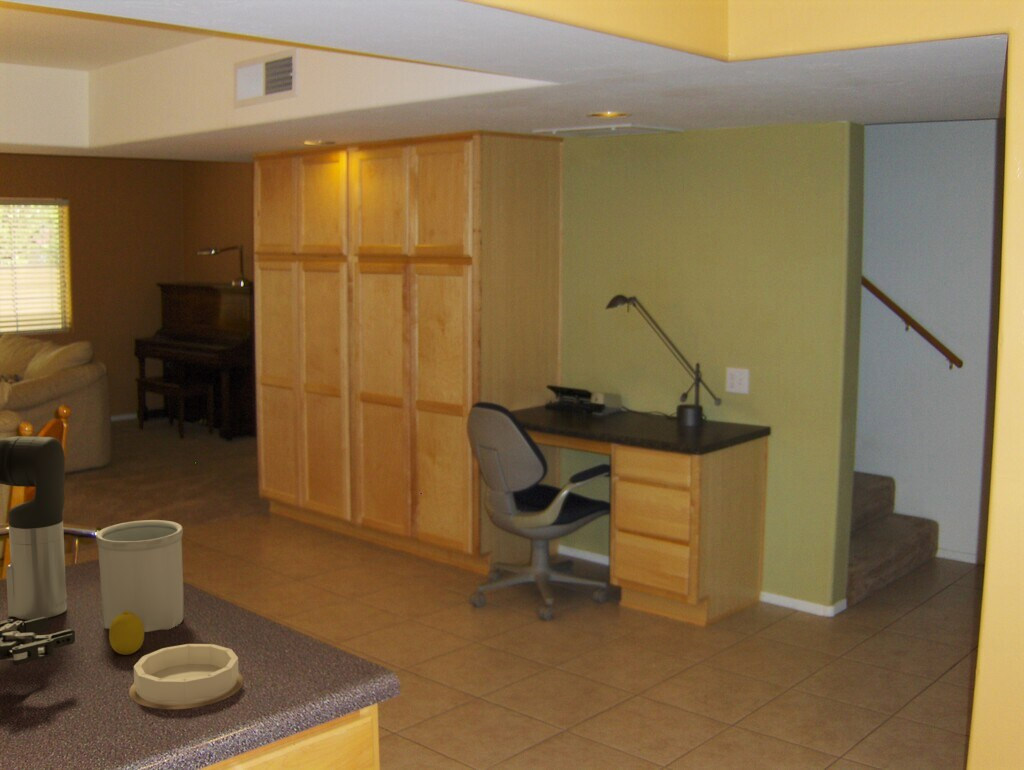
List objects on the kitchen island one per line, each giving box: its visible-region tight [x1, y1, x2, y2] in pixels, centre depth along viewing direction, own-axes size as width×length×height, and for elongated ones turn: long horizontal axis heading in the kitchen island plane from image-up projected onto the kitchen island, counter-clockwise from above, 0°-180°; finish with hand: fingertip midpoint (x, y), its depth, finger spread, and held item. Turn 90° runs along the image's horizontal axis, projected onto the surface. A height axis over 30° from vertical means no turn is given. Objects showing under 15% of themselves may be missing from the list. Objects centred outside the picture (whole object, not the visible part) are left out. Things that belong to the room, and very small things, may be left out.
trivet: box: [128, 671, 244, 710], centre depth 167 cm, size 17×17×1 cm
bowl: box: [133, 643, 240, 706], centre depth 166 cm, size 15×15×4 cm
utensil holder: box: [95, 519, 184, 633], centre depth 194 cm, size 15×15×18 cm
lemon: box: [108, 611, 145, 656], centre depth 179 cm, size 6×6×8 cm
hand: (60, 629), depth 170 cm, fingers open, 8 cm apart
